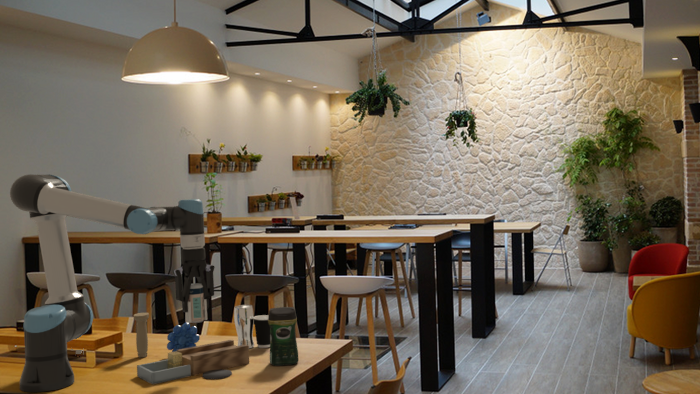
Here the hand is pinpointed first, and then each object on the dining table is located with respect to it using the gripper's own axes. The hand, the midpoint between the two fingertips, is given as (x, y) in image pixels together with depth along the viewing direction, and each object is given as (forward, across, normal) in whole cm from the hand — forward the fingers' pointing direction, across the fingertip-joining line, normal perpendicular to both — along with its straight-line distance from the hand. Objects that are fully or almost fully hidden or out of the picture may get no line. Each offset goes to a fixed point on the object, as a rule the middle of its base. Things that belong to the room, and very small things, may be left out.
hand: (196, 320), depth 212 cm
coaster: (+17, +3, -7) cm, 18 cm away
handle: (+16, -5, +33) cm, 37 cm away
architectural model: (+16, -21, +51) cm, 57 cm away
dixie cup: (+17, +34, +14) cm, 40 cm away
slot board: (+17, +7, +4) cm, 19 cm away
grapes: (+17, +6, +23) cm, 29 cm away
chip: (+14, -5, +4) cm, 16 cm away
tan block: (+13, -6, +4) cm, 15 cm away
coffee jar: (+17, +26, -10) cm, 33 cm away
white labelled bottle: (+1, 0, 0) cm, 1 cm away
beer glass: (+17, +28, +18) cm, 37 cm away
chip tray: (+16, -10, +4) cm, 20 cm away
